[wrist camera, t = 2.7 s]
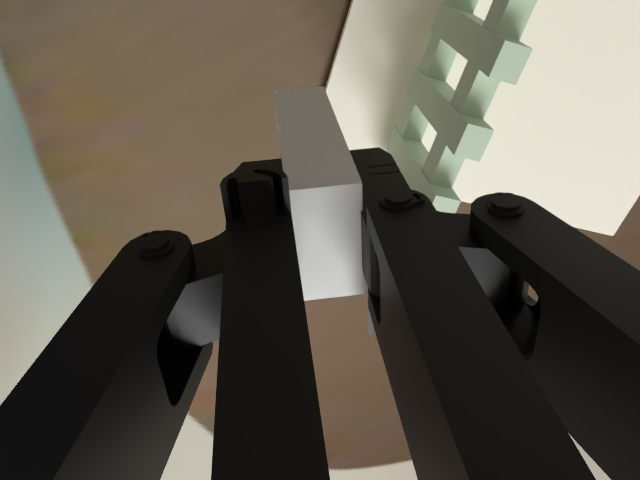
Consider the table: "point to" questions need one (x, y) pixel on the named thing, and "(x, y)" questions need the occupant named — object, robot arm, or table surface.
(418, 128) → the fence gate
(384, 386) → the table surface
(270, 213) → the robot arm
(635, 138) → the card
